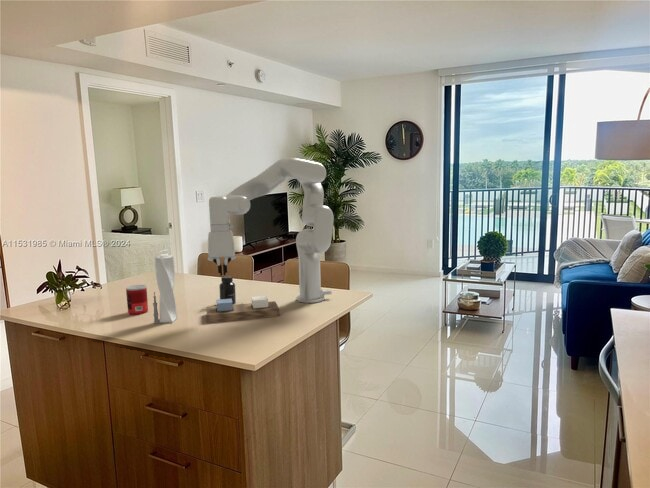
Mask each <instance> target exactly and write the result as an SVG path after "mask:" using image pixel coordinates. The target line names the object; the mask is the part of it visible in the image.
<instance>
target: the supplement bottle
mask: <svg viewBox="0 0 650 488" xmlns="http://www.w3.org/2000/svg"><path fill="white" fill-rule="evenodd" d="M233 280H234V279H233V276H232V275H223V276H221V282H220V283H219V285H218V286H219V288H218V289H219V300H221V299H232V304H233V305H236V298H237V297H236V284H235V282H233Z"/></svg>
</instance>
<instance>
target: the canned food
mask: <svg viewBox="0 0 650 488" xmlns="http://www.w3.org/2000/svg"><path fill="white" fill-rule="evenodd" d="M147 289H148V288H147V285H145V284H135V285H134V284H133V285H130V286H127V287H126V288H125V292H126V293H125V294H126V304H127V312H128V315H130V316H138V315H139V316H140V315H143V314H146V313H148V311H149V303H148V291H147Z"/></svg>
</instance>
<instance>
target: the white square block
mask: <svg viewBox="0 0 650 488" xmlns="http://www.w3.org/2000/svg"><path fill="white" fill-rule="evenodd" d="M268 302H269V299H268V297H267V296H266V295H262V296H259V295H258V296H251V303H252V306H253V308H264V307H268Z"/></svg>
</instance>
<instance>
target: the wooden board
mask: <svg viewBox="0 0 650 488" xmlns="http://www.w3.org/2000/svg"><path fill="white" fill-rule="evenodd" d="M280 315H281V314H280V307H279V305H278V304H277V301H268V307H264V308H253V306H252V302H249V303H239V304H238V303H237V304H233V310H230V311H218V312H217V305H215V306H207V307H206V324H207V323H217V322H218V323H220V322H229V321H241V320H242V321H243V320H252V319H261V318H262V319H263V318H264V319H265V318H271V317H272V318H273V317H280Z"/></svg>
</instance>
